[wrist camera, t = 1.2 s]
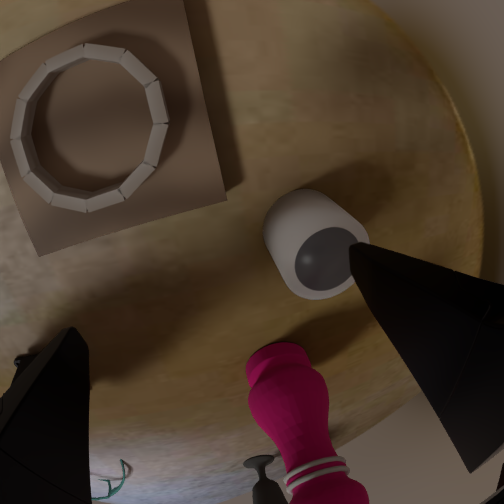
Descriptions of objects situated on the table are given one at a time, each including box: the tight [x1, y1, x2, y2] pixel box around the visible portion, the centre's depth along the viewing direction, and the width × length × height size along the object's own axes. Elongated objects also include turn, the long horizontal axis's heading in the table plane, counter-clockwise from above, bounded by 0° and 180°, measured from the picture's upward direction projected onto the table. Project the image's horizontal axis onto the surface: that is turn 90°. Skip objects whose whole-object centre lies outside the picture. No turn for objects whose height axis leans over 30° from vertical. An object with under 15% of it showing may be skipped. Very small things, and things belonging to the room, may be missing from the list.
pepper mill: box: [246, 342, 369, 504], centre depth 21 cm, size 7×7×20 cm
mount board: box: [0, 0, 227, 257], centre depth 16 cm, size 14×14×3 cm
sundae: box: [243, 455, 288, 504], centre depth 35 cm, size 7×7×15 cm
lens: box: [263, 189, 370, 300], centre depth 21 cm, size 6×6×5 cm
